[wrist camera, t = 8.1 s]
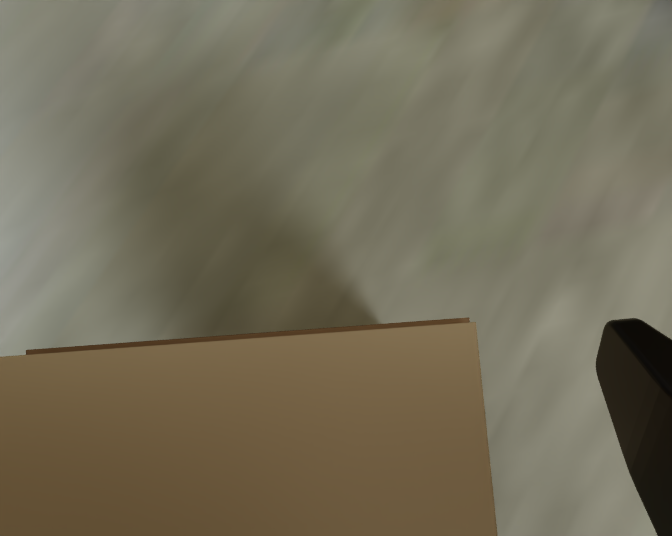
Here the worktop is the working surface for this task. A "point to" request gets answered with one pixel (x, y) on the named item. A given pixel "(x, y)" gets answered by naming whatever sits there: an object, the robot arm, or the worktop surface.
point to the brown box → (250, 435)
